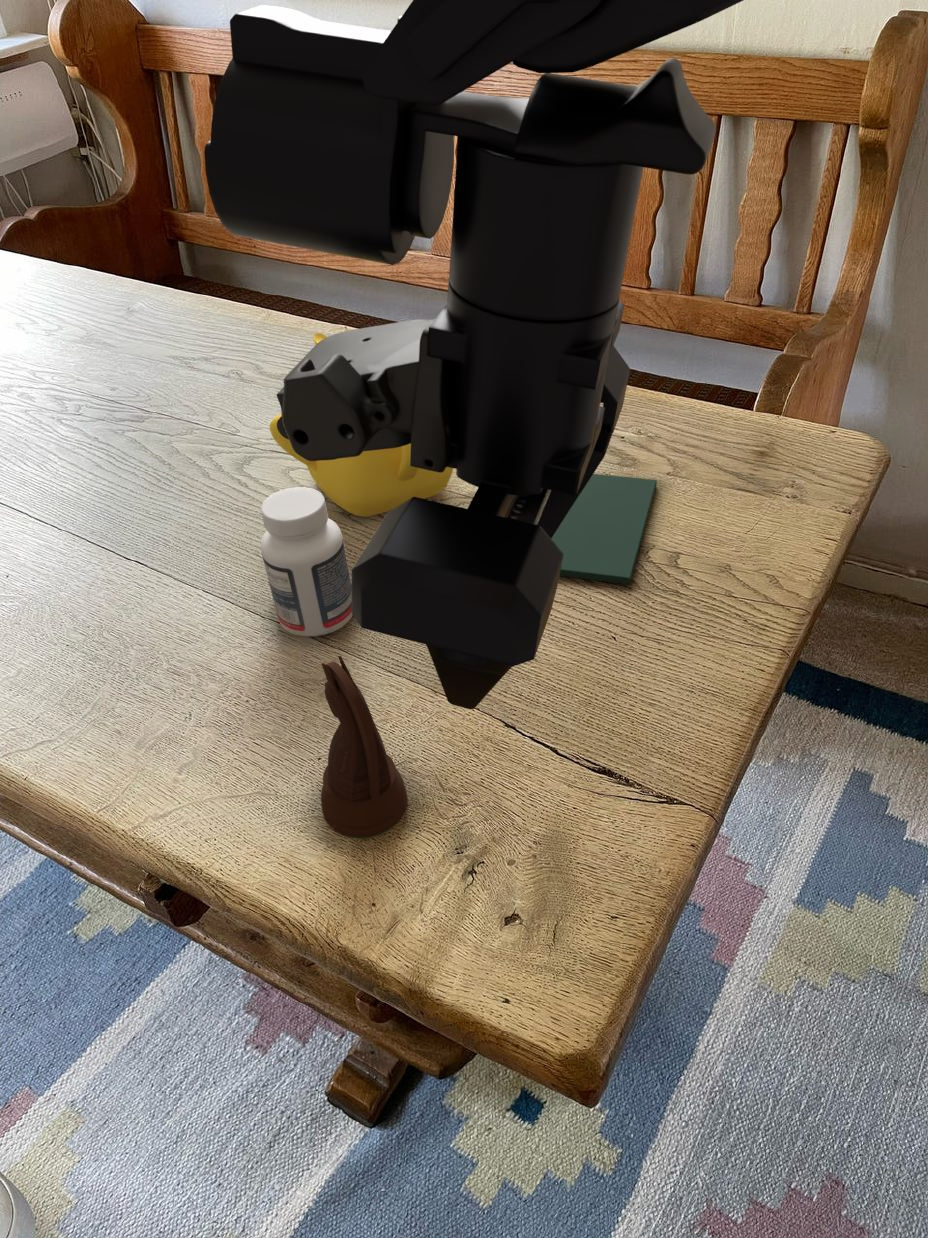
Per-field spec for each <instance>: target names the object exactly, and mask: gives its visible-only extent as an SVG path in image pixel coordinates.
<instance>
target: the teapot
mask: <svg viewBox="0 0 928 1238" xmlns="http://www.w3.org/2000/svg"><path fill="white" fill-rule="evenodd" d="M327 337H328V336H326V335H325V334H324V333H320V332H317V333H314V335H313V337H312V338H313V342H314V344H315V345H316V344H317V343H319V342H320V341H321V340H323V339H325V338H327ZM280 417H281V413H280V414H278V415H276V416H274V417H273V418H272V419H271V421H270V423H269V432H270V434H271V436H272V439H273V440H274V442H275V443H276V444H277V445H278V446H279V447H280V448H281V449H282V450H283V451H284V452H286V453H287V454H288V455H290V456H292V457H293V458H294V459H296V460H297V461H299V462H300V463H302V464H304V465H305V466H306V467H307V470H308V472H309V474H310V476H311V477H312V479H313V481H314V482H315V484H316V485H317V486H318V487H319V488H320V490H321V491H322V493H324V495H325V496H326V497H327V498H328V499H329V500H331V501H332V502H333V503H334V504H336V505H337V506H339V507H340V508H341V509H342V510H344V511H346V512H347V513H350V514H352V515H354V516H359V517H370V516H375V515H379V514H383V513H388V512H390V511H391V510H393V509H394V508H396V507H398V506H399V505H401V504H402V503H404V502H406V501H407V500H409V499H410V498H412V497H418V498H422V499H428V498H430V497H433V496H435V495H437V494H439V493H441V492H442V491H444V490H445V489H446V488H447V486H448V484H449V481H450V480H451V477H452V476H453V475H452V474H453V471H454V468H450V467H446V468H445V470H444V471H443V472H441V473H439V472H435V471H430V470H426V469H421V468H417V467H412V466H410V455H411V443H410V444H408V445H405V446H401V447H397V448H389V449H380V450H371V451H363V452H362V453H361V454H360V455H359V456H356V457H347V458H338V459H335V460H320V461H308V460H306V459H304V458H303V457H301V456H299V455H298V454H297V453H296V452H295V451H294V450H293V448H292V446H291V443H290V441H289V439H286V438H284V437H283V436H282V435H281V434H280V433H279V431H278V429H277V421H278V420H279V418H280Z"/></svg>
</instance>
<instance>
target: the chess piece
mask: <svg viewBox="0 0 928 1238" xmlns="http://www.w3.org/2000/svg"><path fill="white" fill-rule="evenodd" d="M337 659H338V661H339V663H340V664H339V663H338V662H337V661H334V660H333V661H329V662H326V663H325V662H322V663H321V667H322V670H323V672H324V676H325V679H326V681H325V682H324V690H323V692H324V696H325V700H326V703H327V704H328V707H329V709H330V711H331V713H332V715H333V717H334V718H335V719H337V720H338V722H339V725H338V726H337V728H336V730H335V732H334V734H333V735H332V737H331V741H330V744H329V749H328V754H327V766H326V767H325V769H324V771H323V773H322V787H321V792H320V799H321V811H322V815H323V818H324V820H325V822H326V824H327V825H328V827H330V829H332V830H333V831H334V832H336V833H338V834H339V835H341V836H343V837H346V838H349V839H357V840H360V839H361V840H362V839H370V838H375V837H378V836H381V835H383V834H385V833H387V832H389V831H390V830H391V829H393V828H394V827H395V826H396V825H397V824H398V823H400V821H401V820H402V819H403V817H404V815H405V813H406V812H407V808H408V803H409V802H408V800H409V798H408V792H407V788H406V786H405V782H404V779H403V776H402V775H401V773H400V771H399V770H398V768H396V764H395V762H394V760H393V758H392V757H391V756H390V755H388V754H387V751H386V747H385V745H384V742H383V738H382V736H381V734H380V731H379V730H378V728H377V725H376V723H375V720H374V718H373V715H372V713H371V711H370V708H369V705H368V703H367V700H366V699H365V696H364V694H363V693H362V691H361V689H360V687H359V686H358V685H357V684H356V683H355V681H354V678H353V677H352V675H351V673H350V671H349V669H348V667H347V665H346V663H345V661H344V659H343V657H342V655H339V656H337Z"/></svg>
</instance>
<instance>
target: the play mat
mask: <svg viewBox="0 0 928 1238" xmlns="http://www.w3.org/2000/svg"><path fill="white" fill-rule="evenodd" d="M657 482H658V481H657V479H651V478H641V477H632V476H631V477H630V476H620V475H611V474H610V475H609V474H599V473H598V474H597V473H594V474H593V475H592V477H591V478H590V480H589V481H588V483H587V484H586V486H585V487H584V489H583V490H582V492H581V493H580V495H579V496H578V498H577V499H576V501H575V503H574V504H573V506H572V507H571V509H570V510H569V512H568V513H567V515H566V517H565V518H564V520H563V521H562V523H561V524H560V526H559V527H558V529H557V531H556V532H555V534H554V535H553V537H552V538H551V539H552V540H553V542H554V543H555V544H556V545H557V547H558V548H559V549H560V550H561V551H562V553H563V554H564V555H563V560H562V566H561V572H560V577H564V578H565V577H566V578H574V579H581V580H588V581H597V582H605V583H613V584H621V585H630V584H631V581H632V578H633V574H634V571H635V566H636V562H637V560H638V556H639V552H640V548H641V545H642V541H643V537H644V534H645V530H646V526H647V523H648V519H649V514H650V511H651V509H652V505H653V501H654V496H655V493H656V488H657V484H658V483H657Z"/></svg>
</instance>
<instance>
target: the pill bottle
mask: <svg viewBox="0 0 928 1238" xmlns="http://www.w3.org/2000/svg"><path fill="white" fill-rule="evenodd" d="M260 506H261V507H260V511H261V516H262V522H263V527H264V528H265V532H264V534H263V535H262V537H261V541H260V551H261V552H260V553H261V558H262V560H263V564H264V568H265V572H266V576H267V581H268V584H269V589H270V592H271V596H272V600H273V604H274V609H275V612H276V616H277V620H278V623H279V624H280V626H281V627H282V628H283V629H284V630H285V631H286V632H288V633H290V634H293V635H295V636H300V637H309V638H310V637H319V636H325V635H329V634H331V633H333V632H336V631H338V630H339V629H342V628H343V627H344V626H345V625H347V623H349V621H350V620H351V619H352V618H353V617H354V616H353V614H352V582H351V575H350V574H351V573H350V569H349V564H348V558H347V554H346V547H345V541H344V537H343V533H342V530H341V529H340V527H339V525H338V524H337V523H336V522H335V521H334V520H333V519H331V518H329V513H328V508H327V504H326V498H325V497H324V495H323V493H321V492H320V491H319V490H317V489H315V488H312V487H304V486H296V487H295V486H294V487H288V488H285V489H280V490H279V491H276V492H273V493H272V494H270V495H269V496H268V497H267V498H265V499H264V501H263V502H262V504H261V505H260Z"/></svg>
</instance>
